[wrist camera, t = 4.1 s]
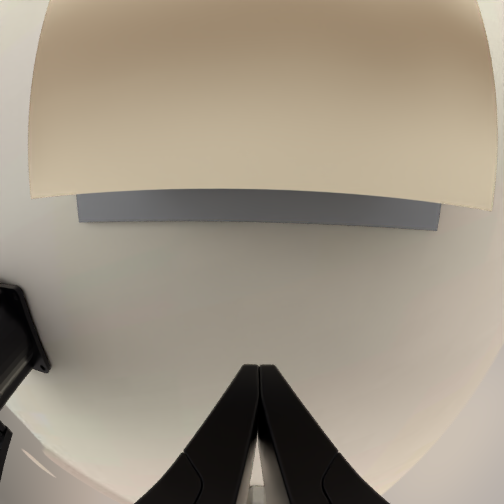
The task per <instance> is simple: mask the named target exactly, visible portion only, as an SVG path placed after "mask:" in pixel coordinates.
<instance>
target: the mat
mask: <svg viewBox="0 0 504 504" xmlns="http://www.w3.org/2000/svg"><path fill="white" fill-rule="evenodd" d="M76 196H77V207H78V217H79V222H116V221H231V222H276V223H307V224H332V225H353V226H372V227H389V228H405V229H420V230H433V231H437V228H438V222H439V216H440V209H441V203H434V202H426V201H418V200H410V199H401V198H392V197H382V196H371V195H360V194H347V193H333V192H317V191H298V190H272V189H159V190H134V191H116V192H100V193H87V194H76Z"/></svg>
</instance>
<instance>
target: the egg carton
mask: <svg viewBox="0 0 504 504" xmlns="http://www.w3.org/2000/svg"><path fill="white" fill-rule="evenodd" d="M246 504H267V501H266V494H265V488H264V486H252V487H251V488H249V490H248V496H247V501H246Z"/></svg>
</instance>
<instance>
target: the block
mask: <svg viewBox="0 0 504 504" xmlns="http://www.w3.org/2000/svg"><path fill="white" fill-rule="evenodd" d="M28 165H29V183H30V195H31V199H36V198H45V197H54V196H64V195H75V194H87V193H100V192H116V191H134V190H159V189H272V190H298V191H317V192H333V193H347V194H360V195H371V196H382V197H392V198H401V199H410V200H418V201H426V202H434V203H441V204H449V205H455V206H462V207H468V208H474V209H480V210H486V211H492V206H493V199H494V190H495V180H496V167H497V105H496V92H495V83H494V75H493V68H492V61H491V55H490V50H489V45H488V40H487V36H486V31H485V27H484V23H483V20H482V16H481V12H480V9H479V6H478V2H477V0H50V1H49V5H48V8H47V11H46V15H45V18H44V22H43V26H42V30H41V34H40V38H39V43H38V48H37V53H36V59H35V64H34V71H33V78H32V86H31V95H30V107H29V125H28Z"/></svg>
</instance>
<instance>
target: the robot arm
mask: <svg viewBox="0 0 504 504" xmlns="http://www.w3.org/2000/svg"><path fill="white" fill-rule="evenodd" d="M32 369H35V370H38V371H40V372H43V373H48V372H49V371H50V370H51V366H50V364H49V362H48V359H47V357H46V355H45V353H44V350H43V348H42V345H41V343H40V341H39V338H38V335H37V333H36V330H35V327H34V325H33V322H32V319H31V316H30V313H29V310H28V307H27V304H26V301H25V298H24V295H23V292H22V290H21V289H20V288H19V287H18V286H14V285H7V284H1V283H0V411H1V409H2V407H3V406H4V405H5V404H6V402H7V401H8V400H9V398H10V397H11V395H12V394H13V393H14V392H15V390H16V389H17V388H18V386H19V385H20V384H21V382H22V381H23V380H24V379H25V377H26V376H27V375H28V374H29V372H30V371H31V370H32ZM257 431H258V446H259V453H260V460H261V467H262V474H263V481H264V488H265V494H266V501H267V504H390V503H388V502H387V501H386V500H385V499H384V498H383V497H381V496H380V495H379V494H378V493H377V492H376V491H375V490H374V489H373V488H372V487H370V486H369V485H368V484H367V483H366V482H365V481H364V480H363V479H362V478H361V477H360V476H359V475H358V473H357V472H356V471H355V470H354V469H353V468H352V467H351V465H350V464H349V463H348V462H347V461H346V459H345V458H344V457H343V456H342V454H341V453H338V449H337V448H336V447H335V446H334V444H333V443H332V442H331V440H330V439H329V438H328V437H327V435H326V434H325V433H324V431H323V430H322V429H321V427H320V426H319V425H318V423H317V422H316V421H315V419H314V418H313V417H312V415H311V414H310V413H309V411H308V410H307V409H306V407H305V406H304V405H303V403H302V402H301V401H300V399H299V398H298V397H297V395H296V394H295V392H294V391H293V390H292V388H291V387H290V385H289V384H288V383H287V381H286V380H285V379H284V377H283V376H282V374H281V373H280V372H279V370H278V369H277V367H276V366H275V365H260V366H258V365H257V364H244V365H243V366H242V367H241V369H240V370H239V372H238V373H237V375H236V376H235V378H234V379H233V381H232V382H231V384H230V385H229V387H228V388H227V390H226V391H225V393H224V394H223V395H222V397H221V398H220V400H219V401H218V403H217V404H216V406H215V407H214V408H213V410H212V411H211V413H210V414H209V416H208V417H207V418H206V420H205V421H204V423H203V424H202V425H201V427H200V428H199V430H198V431H197V432H196V434H195V435H194V437H193V438H192V439H191V441H190V442H189V443H188V445H187V446H186V447H185V449H184V450H183V451H184V453H183V452H182V453H181V454H180V455H179V457H178V458H177V459H176V461H175V462H174V463H173V464H172V466H171V467H170V468H169V469H168V470H167V472H166V473H165V474H164V475H163V476H162V478H161V479H160V480H159V481H158V482H157V483H156V484H155V485H154V486H153V487H152V488H151V489H150V490H149V491H148V492H147V493H146V494H144V495H143V496H142V497H141V498H140V499H139V500H138V501H137V502H135V503H134V504H246V501H247V496H248V490H249V485H250V479H251V473H252V467H253V461H254V455H255V449H256V442H257ZM11 437H12V432H11V431H10V429H9V428H8V427H7V426H5V425H4V424H3V423H2V422H1V421H0V480H1V475H2V471H3V466H4V463H5V459H6V455H7V451H8V448H9V444H10V441H11Z"/></svg>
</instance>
